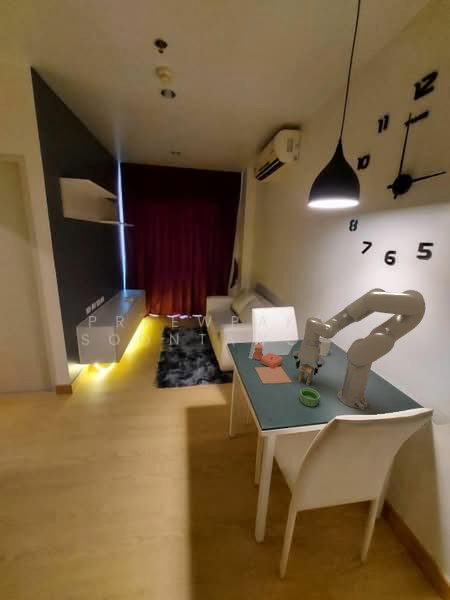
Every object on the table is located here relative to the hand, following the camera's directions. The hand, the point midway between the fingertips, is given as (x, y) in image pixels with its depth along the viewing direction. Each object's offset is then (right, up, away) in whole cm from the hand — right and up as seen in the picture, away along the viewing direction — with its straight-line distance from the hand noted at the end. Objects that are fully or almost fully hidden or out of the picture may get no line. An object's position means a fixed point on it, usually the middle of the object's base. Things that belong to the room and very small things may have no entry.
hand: (306, 370), depth 133 cm
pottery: (-19, 0, +21) cm, 28 cm away
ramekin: (-4, -11, -15) cm, 18 cm away
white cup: (+23, +1, +36) cm, 42 cm away
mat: (-17, -4, +6) cm, 19 cm away
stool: (0, -6, +2) cm, 6 cm away
